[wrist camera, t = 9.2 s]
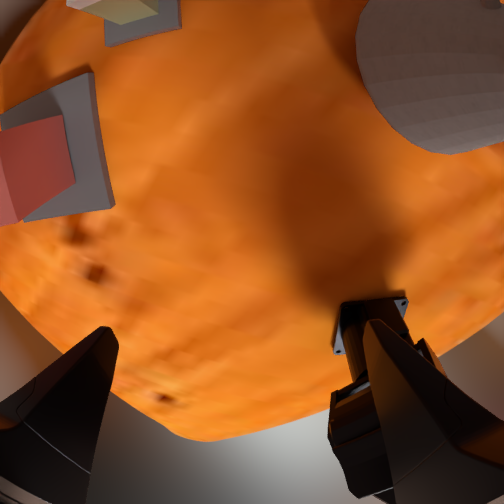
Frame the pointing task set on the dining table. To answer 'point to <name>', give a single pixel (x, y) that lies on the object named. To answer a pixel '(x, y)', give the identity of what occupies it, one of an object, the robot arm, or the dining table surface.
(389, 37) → the coffee pot
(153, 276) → the dining table surface
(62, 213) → the grey plate with post
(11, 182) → the red rectangular block
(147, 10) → the grey base with block
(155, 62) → the dining table surface
